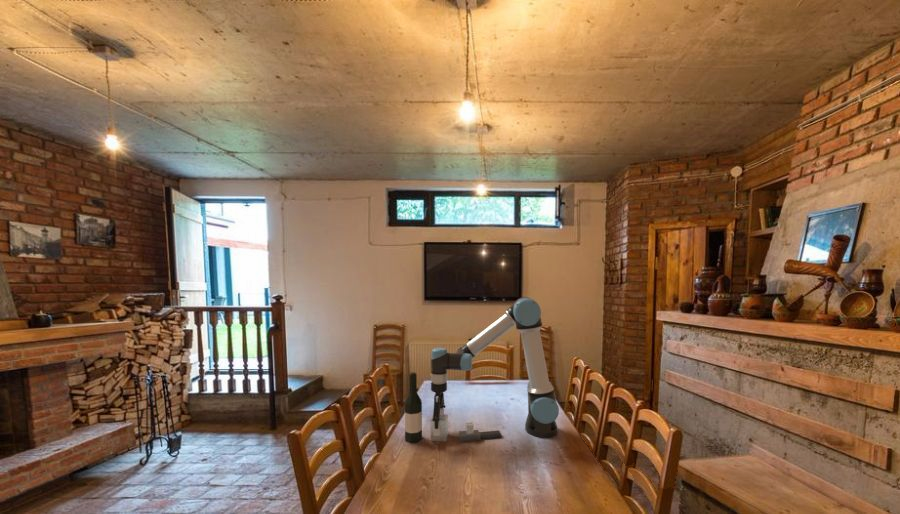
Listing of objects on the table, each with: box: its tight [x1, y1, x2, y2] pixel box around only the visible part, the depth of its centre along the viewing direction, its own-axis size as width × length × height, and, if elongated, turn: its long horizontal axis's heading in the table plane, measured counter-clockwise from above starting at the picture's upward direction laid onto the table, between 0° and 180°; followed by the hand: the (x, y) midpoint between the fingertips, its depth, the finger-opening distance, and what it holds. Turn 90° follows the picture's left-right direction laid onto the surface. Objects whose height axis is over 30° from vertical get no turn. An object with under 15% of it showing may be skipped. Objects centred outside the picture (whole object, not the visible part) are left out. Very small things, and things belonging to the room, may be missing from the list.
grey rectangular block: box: [430, 413, 449, 442], centre depth 152 cm, size 7×7×9 cm
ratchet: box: [458, 421, 502, 443], centre depth 151 cm, size 19×5×6 cm, turn 99°
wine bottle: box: [404, 371, 423, 444], centre depth 152 cm, size 8×8×30 cm
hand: (439, 428), depth 152 cm, fingers open, 13 cm apart
